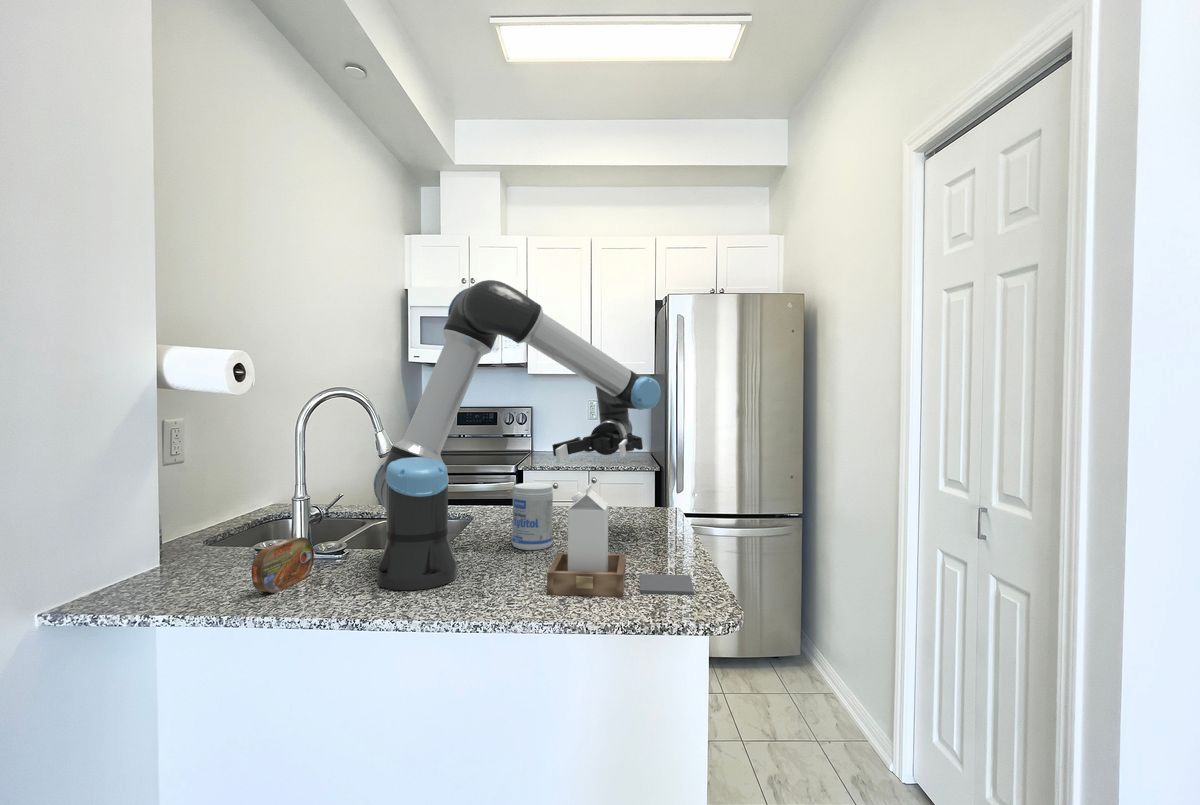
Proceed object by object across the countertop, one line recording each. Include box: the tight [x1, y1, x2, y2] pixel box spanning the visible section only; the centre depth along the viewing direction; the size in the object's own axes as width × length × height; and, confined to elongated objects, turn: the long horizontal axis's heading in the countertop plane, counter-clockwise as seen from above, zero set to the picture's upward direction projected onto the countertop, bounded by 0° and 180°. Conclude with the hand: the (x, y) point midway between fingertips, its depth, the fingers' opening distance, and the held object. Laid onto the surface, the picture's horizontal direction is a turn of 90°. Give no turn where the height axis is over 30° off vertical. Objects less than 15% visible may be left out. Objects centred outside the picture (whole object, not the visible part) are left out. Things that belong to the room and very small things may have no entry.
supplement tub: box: [511, 482, 554, 551], centre depth 146 cm, size 10×10×15 cm
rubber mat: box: [639, 573, 695, 596], centre depth 117 cm, size 10×10×1 cm
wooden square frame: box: [546, 552, 627, 598], centre depth 117 cm, size 14×15×4 cm
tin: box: [251, 536, 315, 594], centre depth 116 cm, size 15×3×8 cm, turn 171°
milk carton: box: [567, 483, 609, 572], centre depth 118 cm, size 7×7×19 cm
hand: (589, 453), depth 126 cm, fingers open, 13 cm apart
